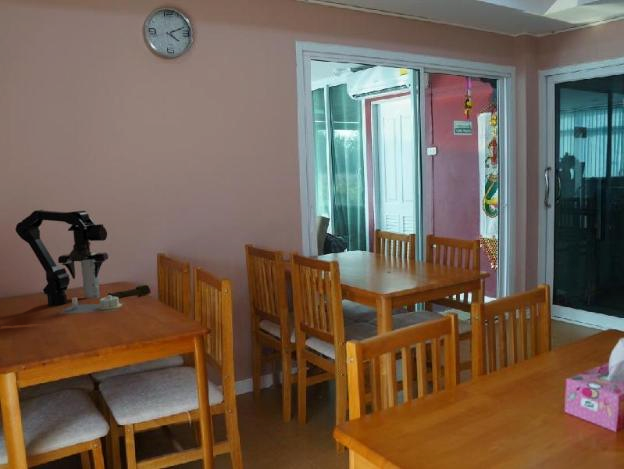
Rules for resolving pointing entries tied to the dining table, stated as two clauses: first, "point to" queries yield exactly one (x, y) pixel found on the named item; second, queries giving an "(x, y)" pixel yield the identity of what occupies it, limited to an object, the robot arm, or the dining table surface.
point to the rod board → (88, 307)
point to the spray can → (90, 279)
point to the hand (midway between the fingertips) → (85, 278)
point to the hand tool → (132, 292)
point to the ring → (109, 302)
